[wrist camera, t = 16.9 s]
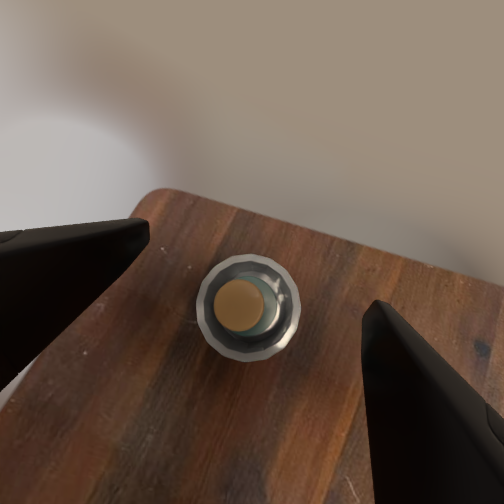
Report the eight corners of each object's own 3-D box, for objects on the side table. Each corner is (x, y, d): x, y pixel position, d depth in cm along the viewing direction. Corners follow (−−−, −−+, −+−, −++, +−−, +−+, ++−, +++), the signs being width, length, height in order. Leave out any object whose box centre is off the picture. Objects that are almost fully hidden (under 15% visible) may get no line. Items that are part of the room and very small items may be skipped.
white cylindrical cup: (279, 356, 18) (287, 375, 13) (202, 334, 19) (182, 344, 14) (297, 277, 19) (309, 267, 15) (224, 259, 20) (213, 244, 15)
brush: (280, 314, 18) (310, 325, 8) (241, 336, 18) (216, 381, 7) (258, 276, 19) (257, 237, 8) (221, 297, 19) (171, 285, 8)
